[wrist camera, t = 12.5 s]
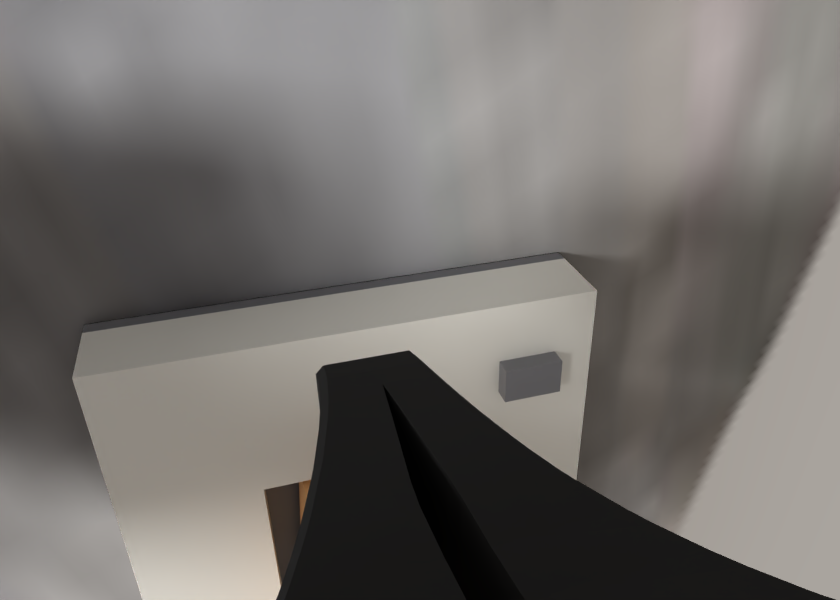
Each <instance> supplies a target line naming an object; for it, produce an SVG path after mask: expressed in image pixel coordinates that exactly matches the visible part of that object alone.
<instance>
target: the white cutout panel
mask: <svg viewBox="0 0 840 600" xmlns="http://www.w3.org/2000/svg"><path fill="white" fill-rule="evenodd" d="M596 298H597V290H596V289H595V288H594V287H593V286H592V285H591V284H590V283H589V282H588V281H587V280H586V279H585V278H584V277H583V276H582V275H581V274H580V273H579V272H578V271H577V270H576V269H575V268H574V267H573V266H572V265H571V264H570V263H569V262H568V261H567V260H566V259H565V258H564V257H563V256H561V255H560V254H559V253H552V254H545V255H539V256H532V257H525V258H519V259H512V260H506V261H499V262H493V263H486V264H480V265H473V266H467V267H460V268H453V269H447V270H440V271H434V272H427V273H421V274H414V275H408V276H401V277H394V278H388V279H381V280H375V281H368V282H362V283H355V284H349V285H342V286H336V287H329V288H322V289H316V290H309V291H303V292H296V293H290V294H283V295H277V296H270V297H263V298H257V299H250V300H244V301H237V302H231V303H224V304H218V305H211V306H205V307H198V308H191V309H185V310H178V311H172V312H165V313H159V314H152V315H146V316H139V317H132V318H126V319H119V320H113V321H106V322H100V323H93V324H87V325H84V327H83V331H82V336H81V341H80V345H79V350H78V354H77V359H76V363H75V368H74V372H73V377H72V380H73V383H74V386H75V389H76V392H77V395H78V399H79V402H80V405H81V408H82V411H83V414H84V417H85V421H86V424H87V427H88V430H89V433H90V436H91V439H92V443H93V446H94V449H95V452H96V455H97V458H98V461H99V465H100V468H101V471H102V474H103V477H104V480H105V483H106V487H107V490H108V493H109V496H110V499H111V502H112V505H113V509H114V512H115V515H116V518H117V521H118V524H119V527H120V531H121V534H122V537H123V540H124V543H125V546H126V549H127V553H128V556H129V559H130V562H131V565H132V568H133V571H134V575H135V578H136V581H137V584H138V587H139V590H140V594H141V597H142V600H276V599H277V596H278V593H279V591H280V588H281V585H282V582H283V579H284V576H285V573H286V570H287V567H288V564H289V561H290V558H291V555H292V552H293V548H294V545H295V542H296V538H297V535H298V531H299V528H300V503H299V482H303V481H308V480H311V477H312V472H313V467H314V460H315V453H316V446H317V438H318V431H319V418H320V407H319V399H318V390H317V381H316V373H317V372H318V371H319V370H320V368H321V367H322V366H323V365H328V364H334V363H340V362H345V361H351V360H357V359H362V358H368V357H374V356H380V355H385V354H391V353H397V352H402V351H408V350H409V351H411V352H412V353H413V354H414V355H416V356H417V357H418V358H419V359H420V360H422V361H423V362H424V363H425V364H426V365H427V366H428V367H429V368H430V369H432V370H433V371H434V372H435V373H436V374H437V375H438V376H439V377H441V378H442V379H443V380H444V381H445V382H446V383H447V384H449V385H450V386H451V387H452V388H453V389H454V390H456V391H457V392H458V393H459V394H460V395H461V396H463V397H464V398H465V399H466V400H467V401H468V402H470V403H471V404H472V405H473V406H475V407H476V408H477V409H478V410H479V411H481V412H482V413H483V414H484V415H486V416H487V417H488V418H490V419H491V420H492V421H493V422H495V423H496V424H497V425H498V426H500V427H501V428H502V429H504V430H505V431H506V432H507V433H509V434H510V435H511V436H513V437H514V438H515V439H517V440H518V441H519V442H521V443H522V444H523V445H525V446H526V447H528V448H529V449H530V450H532V451H533V452H535V453H536V454H537V455H539V456H540V457H542V458H543V459H545V460H546V461H548V462H549V463H551V464H552V465H553V466H555V467H556V468H558V469H559V470H561V471H562V472H564V473H566V474H567V475H569V476H570V477H572V478H574V479H575V480H576V479H577V470H578V461H579V452H580V443H581V434H582V425H583V416H584V407H585V398H586V389H587V379H588V370H589V361H590V352H591V343H592V334H593V325H594V316H595V307H596Z"/></svg>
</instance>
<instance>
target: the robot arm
mask: <svg viewBox="0 0 840 600" xmlns="http://www.w3.org/2000/svg"><path fill="white" fill-rule="evenodd" d="M316 381H317V390H318V399H319V407H320V418H319V431H318V438H317V446H316V453H315V460H314V467H313V472H312V477H311V481H310V486H309V490H308V494H307V499H306V503H305V507H304V512H303V516H302V520H301V524H300V528H299V531H298V535H297V538H296V542H295V545H294V548H293V552H292V555H291V558H290V561H289V564H288V567H287V570H286V573H285V576H284V579H283V582H282V585H281V588H280V591H279V593H278V596H277V599H276V600H835V599H832V598H829V597H826V596H823V595H820V594H817V593H815V592H812V591H809V590H806V589H804V588H801V587H799V586H796V585H794V584H791V583H788V582H786V581H783V580H781V579H778V578H776V577H773V576H771V575H768V574H766V573H763V572H760V571H758V570H755V569H753V568H750V567H747V566H745V565H743V564H741V563H738V562H736V561H733V560H731V559H729V558H727V557H724V556H722V555H720V554H717V553H715V552H713V551H710V550H708V549H706V548H704V547H702V546H700V545H698V544H696V543H693V542H691V541H689V540H687V539H685V538H683V537H681V536H679V535H677V534H675V533H673V532H670V531H668V530H666V529H664V528H662V527H660V526H658V525H656V524H654V523H652V522H650V521H648V520H646V519H644V518H642V517H640V516H638V515H636V514H635V513H633V512H631V511H629V510H627V509H625V508H623V507H622V506H620V505H618V504H616V503H615V502H613V501H611V500H609V499H608V498H606V497H604V496H603V495H601V494H599V493H597V492H596V491H594V490H592V489H590V488H589V487H587V486H585V485H583V484H582V483H580V482H578V481H577V480H575V479H574V478H572V477H570V476H569V475H567V474H566V473H564V472H562V471H561V470H559V469H558V468H556V467H555V466H553V465H552V464H551V463H549V462H548V461H546V460H545V459H543V458H542V457H540V456H539V455H537V454H536V453H535V452H533V451H532V450H530V449H529V448H528V447H526V446H525V445H523V444H522V443H521V442H519V441H518V440H517V439H515V438H514V437H513V436H511V435H510V434H509V433H507V432H506V431H505V430H504V429H502V428H501V427H500V426H498V425H497V424H496V423H495V422H493V421H492V420H491V419H490V418H488V417H487V416H486V415H484V414H483V413H482V412H481V411H479V410H478V409H477V408H476V407H475V406H473V405H472V404H471V403H470V402H468V401H467V400H466V399H465V398H464V397H463V396H461V395H460V394H459V393H458V392H457V391H456V390H454V389H453V388H452V387H451V386H450V385H449V384H447V383H446V382H445V381H444V380H443V379H442V378H441V377H439V376H438V375H437V374H436V373H435V372H434V371H433V370H432V369H430V368H429V367H428V366H427V365H426V364H425V363H424V362H423V361H422V360H420V359H419V358H418V357H417V356H416V355H414V354H413V353H412V352H411V351H409V350H408V351H402V352H397V353H391V354H385V355H380V356H374V357H368V358H362V359H357V360H351V361H345V362H340V363H334V364H328V365H323V366H322V367H321V368H320V370H319V371H318V372H317V373H316Z"/></svg>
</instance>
